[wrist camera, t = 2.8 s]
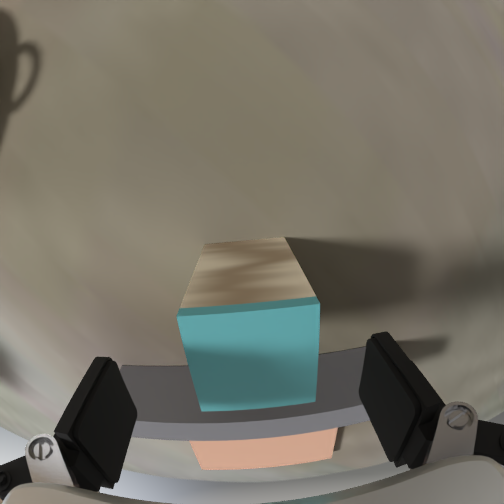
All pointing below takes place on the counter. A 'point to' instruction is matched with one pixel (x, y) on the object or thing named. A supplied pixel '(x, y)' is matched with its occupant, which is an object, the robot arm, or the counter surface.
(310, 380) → the block
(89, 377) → the robot arm
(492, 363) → the counter surface
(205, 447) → the terracotta tile
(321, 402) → the board
